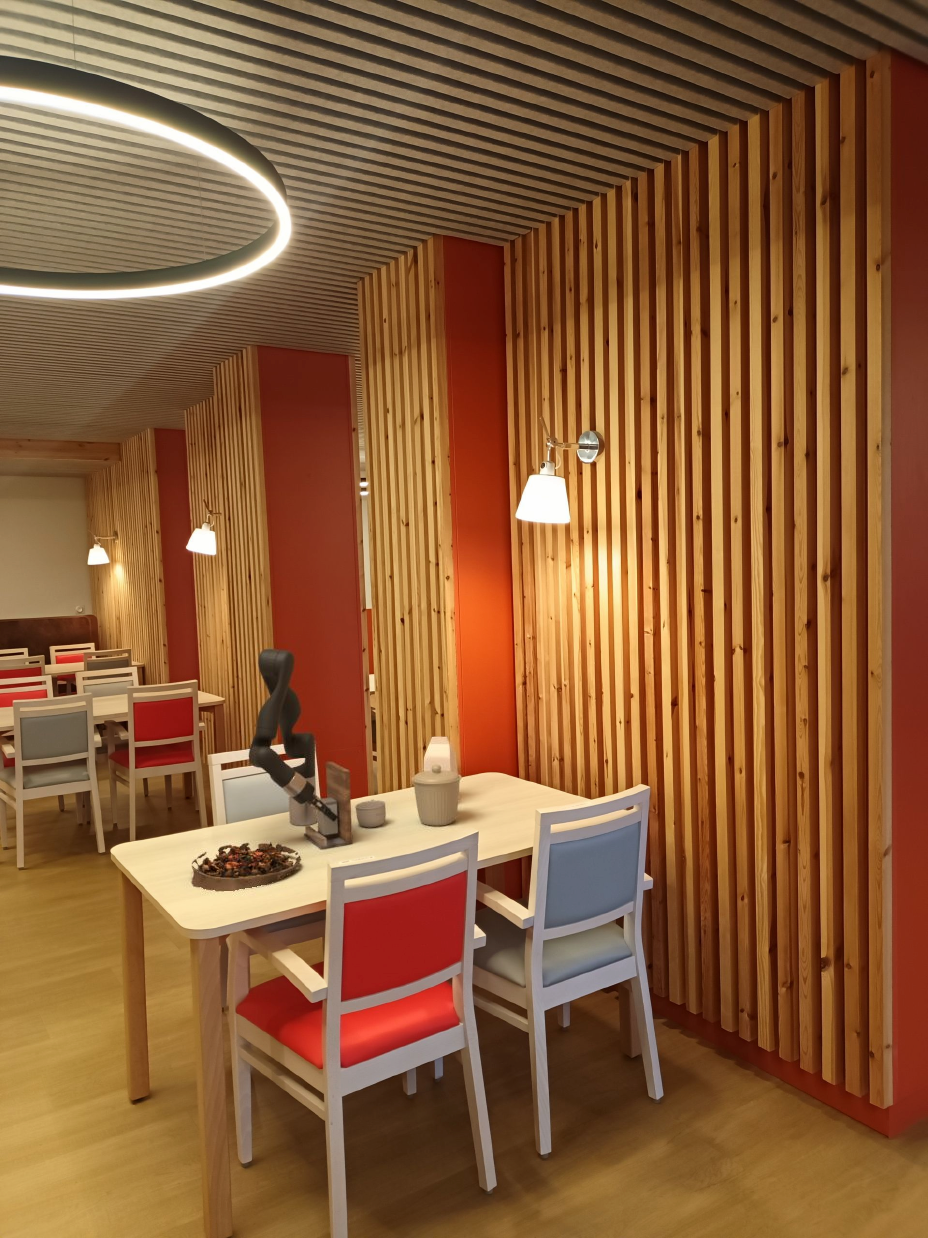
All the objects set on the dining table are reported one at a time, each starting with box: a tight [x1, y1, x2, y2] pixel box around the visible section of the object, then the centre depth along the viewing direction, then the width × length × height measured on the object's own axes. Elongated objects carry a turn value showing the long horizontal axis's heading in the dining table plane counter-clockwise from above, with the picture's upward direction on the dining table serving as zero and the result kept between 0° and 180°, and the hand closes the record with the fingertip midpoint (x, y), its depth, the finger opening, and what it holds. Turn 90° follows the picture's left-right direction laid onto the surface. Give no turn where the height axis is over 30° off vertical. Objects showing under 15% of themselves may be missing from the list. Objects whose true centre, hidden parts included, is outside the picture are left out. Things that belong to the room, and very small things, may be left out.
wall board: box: [303, 761, 353, 851], centre depth 311 cm, size 11×18×25 cm, turn 28°
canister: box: [411, 765, 462, 827], centre depth 329 cm, size 18×18×21 cm
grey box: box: [317, 797, 338, 835], centre depth 311 cm, size 5×6×11 cm
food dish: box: [190, 841, 302, 892], centre depth 281 cm, size 35×33×8 cm
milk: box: [423, 736, 461, 800], centre depth 358 cm, size 12×12×26 cm
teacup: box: [354, 799, 387, 828], centre depth 330 cm, size 14×11×8 cm
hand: (332, 817), depth 312 cm, fingers closed on grey box, 6 cm apart
